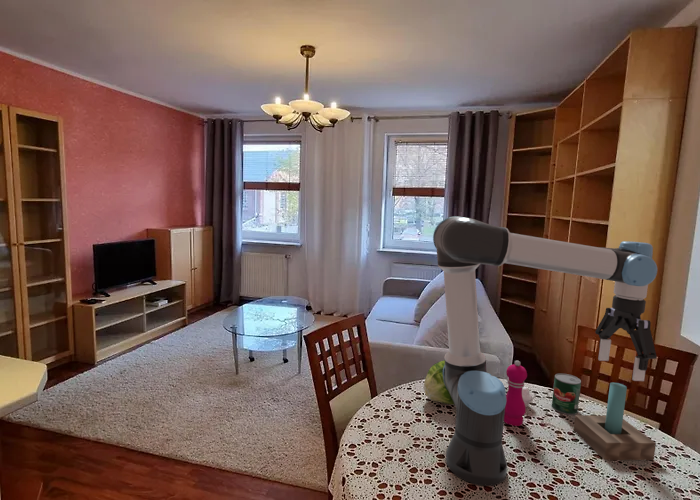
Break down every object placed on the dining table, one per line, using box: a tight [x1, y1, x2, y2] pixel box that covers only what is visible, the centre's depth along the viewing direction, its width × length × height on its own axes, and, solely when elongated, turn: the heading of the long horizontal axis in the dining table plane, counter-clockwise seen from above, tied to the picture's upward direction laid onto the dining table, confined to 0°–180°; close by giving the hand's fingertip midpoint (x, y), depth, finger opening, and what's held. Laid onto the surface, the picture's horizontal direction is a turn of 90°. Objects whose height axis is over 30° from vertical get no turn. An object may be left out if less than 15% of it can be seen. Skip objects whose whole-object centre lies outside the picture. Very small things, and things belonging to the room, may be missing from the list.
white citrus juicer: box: [522, 385, 533, 408], centre depth 135 cm, size 6×6×7 cm
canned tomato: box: [551, 373, 582, 416], centre depth 133 cm, size 8×8×11 cm
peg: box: [605, 382, 628, 434], centre depth 113 cm, size 4×4×18 cm
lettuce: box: [423, 360, 455, 406], centre depth 136 cm, size 16×21×15 cm
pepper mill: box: [504, 360, 528, 427], centre depth 124 cm, size 7×7×20 cm
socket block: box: [573, 414, 657, 461], centre depth 114 cm, size 14×14×5 cm
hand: (619, 369), depth 112 cm, fingers open, 13 cm apart
